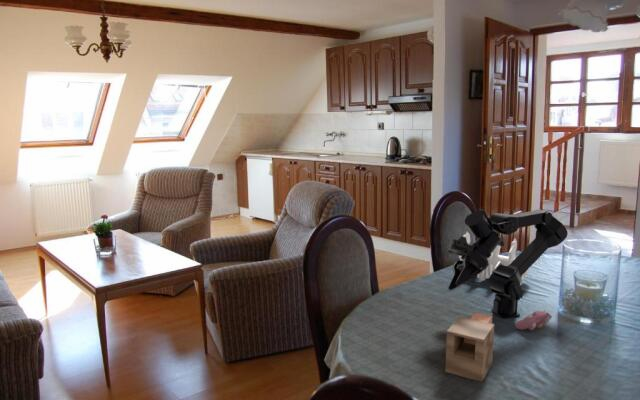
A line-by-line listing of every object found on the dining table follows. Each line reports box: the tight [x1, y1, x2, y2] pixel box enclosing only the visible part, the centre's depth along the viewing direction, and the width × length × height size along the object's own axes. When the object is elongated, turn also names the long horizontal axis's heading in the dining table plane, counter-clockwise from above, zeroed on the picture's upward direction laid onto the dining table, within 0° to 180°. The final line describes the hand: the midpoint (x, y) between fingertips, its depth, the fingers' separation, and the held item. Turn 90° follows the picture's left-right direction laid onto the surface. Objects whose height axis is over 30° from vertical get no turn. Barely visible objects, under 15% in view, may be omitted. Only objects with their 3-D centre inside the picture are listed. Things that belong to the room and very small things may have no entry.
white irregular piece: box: [458, 231, 530, 283], centre depth 188 cm, size 18×18×25 cm
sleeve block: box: [444, 316, 495, 383], centre depth 125 cm, size 10×9×11 cm
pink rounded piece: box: [515, 309, 552, 331], centre depth 147 cm, size 10×5×7 cm, turn 118°
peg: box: [464, 311, 493, 345], centre depth 130 cm, size 10×4×4 cm, turn 147°
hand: (453, 287), depth 146 cm, fingers open, 9 cm apart
